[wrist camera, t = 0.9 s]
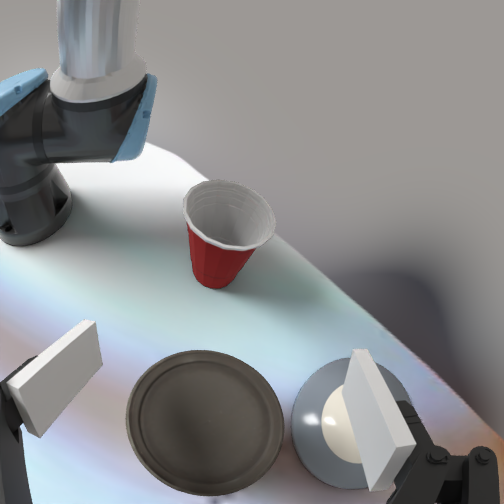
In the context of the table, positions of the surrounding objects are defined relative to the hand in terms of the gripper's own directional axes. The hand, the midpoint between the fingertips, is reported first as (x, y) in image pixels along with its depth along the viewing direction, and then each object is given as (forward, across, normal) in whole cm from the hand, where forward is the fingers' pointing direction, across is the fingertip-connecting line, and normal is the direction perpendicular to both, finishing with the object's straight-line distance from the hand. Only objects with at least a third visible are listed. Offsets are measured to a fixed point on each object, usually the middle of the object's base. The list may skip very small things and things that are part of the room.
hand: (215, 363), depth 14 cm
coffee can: (+10, -4, -17) cm, 20 cm away
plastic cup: (+28, -5, -4) cm, 29 cm away
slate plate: (+15, +15, -18) cm, 28 cm away
